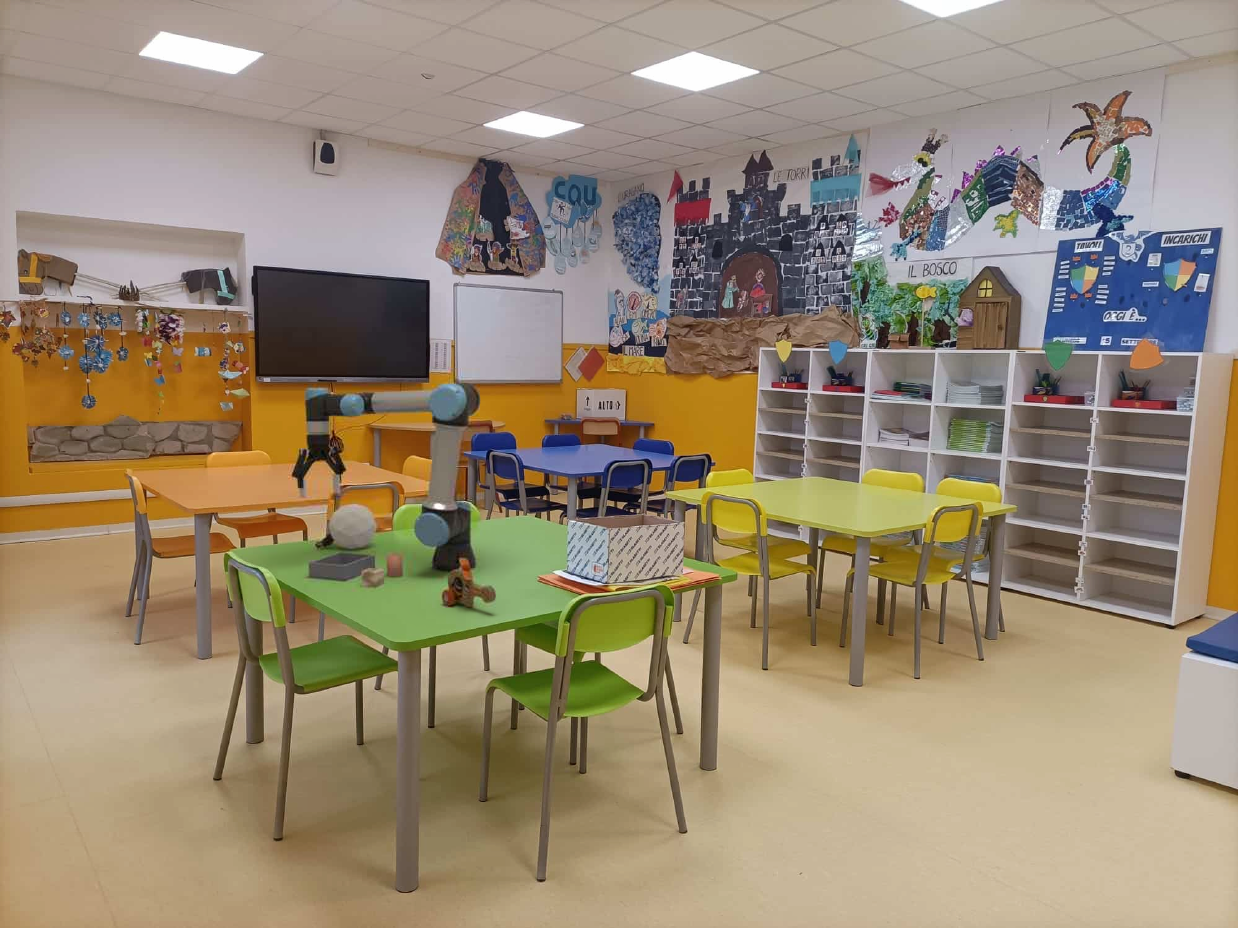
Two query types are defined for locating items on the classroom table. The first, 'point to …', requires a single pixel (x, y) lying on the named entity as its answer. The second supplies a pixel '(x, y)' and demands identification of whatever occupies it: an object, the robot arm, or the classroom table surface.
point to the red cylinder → (394, 565)
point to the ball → (350, 527)
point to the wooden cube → (372, 577)
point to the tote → (341, 566)
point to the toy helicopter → (465, 587)
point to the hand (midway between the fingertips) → (320, 495)
